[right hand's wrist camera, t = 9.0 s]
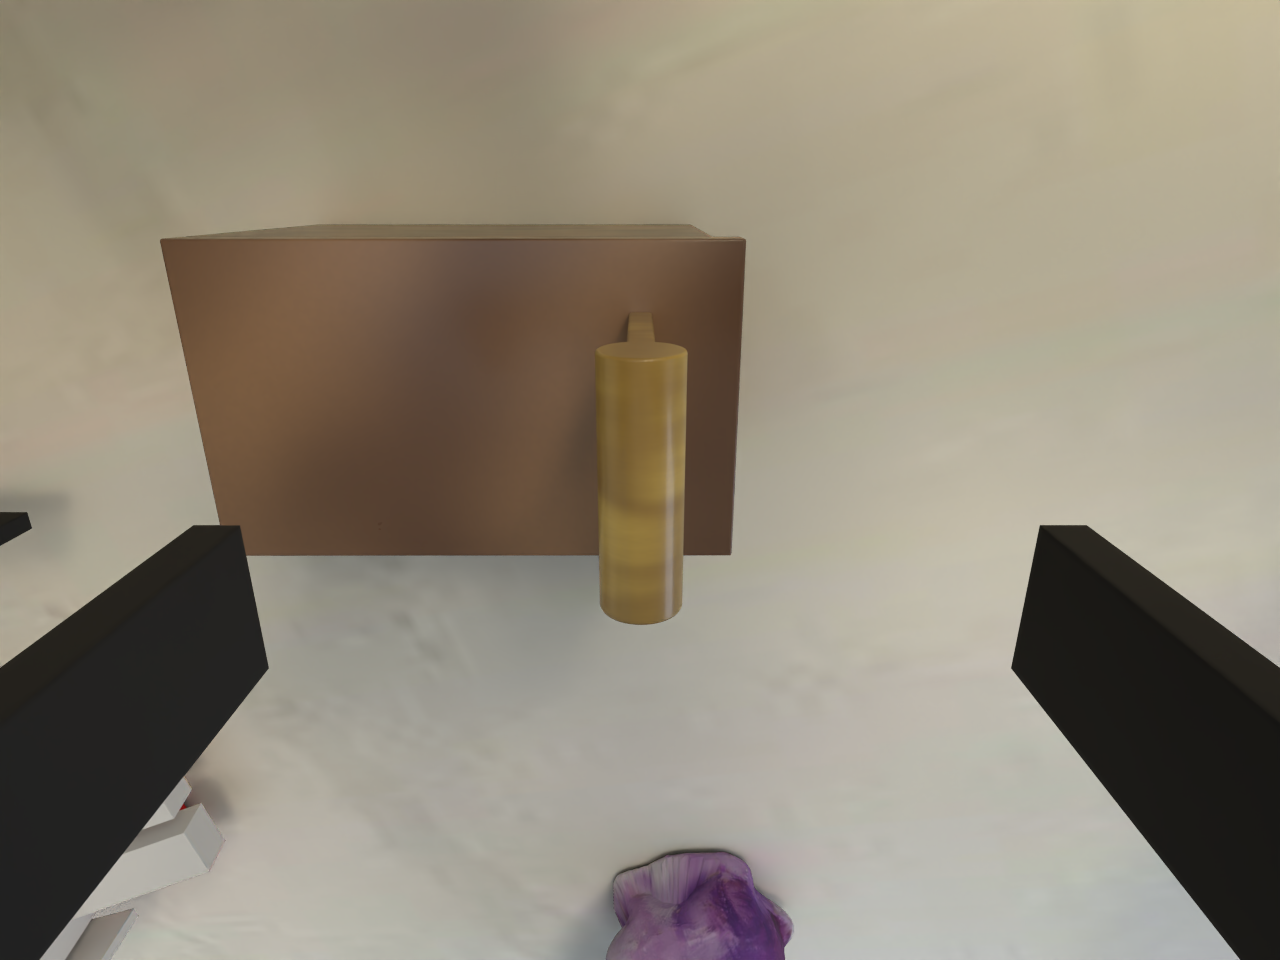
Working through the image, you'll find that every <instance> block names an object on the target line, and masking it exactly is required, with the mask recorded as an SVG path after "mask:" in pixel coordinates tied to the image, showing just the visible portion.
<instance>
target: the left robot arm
mask: <svg viewBox="0 0 1280 960" xmlns="http://www.w3.org/2000/svg"><path fill="white" fill-rule="evenodd" d="M30 529H32V527H31V524H30V520H29V517H28V514H27V512H0V546H1V545H2V544H4V543H6V542H8V541H10V540H12V539H13V538H15V537H17V536H19V535H21V534H22V533H24V532H26V531H28V530H30Z"/></svg>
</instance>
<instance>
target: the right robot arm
mask: <svg viewBox="0 0 1280 960" xmlns="http://www.w3.org/2000/svg"><path fill="white" fill-rule="evenodd" d="M268 669H269V667H268V662H267V657H266V652H265V647H264V642H263V637H262V632H261V627H260V622H259V617H258V612H257V607H256V602H255V597H254V592H253V587H252V582H251V577H250V572H249V567H248V562H247V557H246V552H245V547H244V543H243V538H242V533H241V528H240V525H193V526H192V527H190V528H189V529H188V530H186V531H185V532H184V533H182V534H181V535H180V536H178V537H177V538H176V539H174V540H173V541H172V542H170V543H169V544H167V545H166V546H165V547H163V548H162V549H161V550H159V551H158V552H157V553H155V554H154V555H153V556H151V557H150V558H148V559H147V560H146V561H144V562H143V563H142V564H140V565H139V566H138V567H136V568H135V569H134V570H132V571H131V572H130V573H128V574H127V575H125V576H124V577H123V578H121V579H120V580H119V581H117V582H116V583H115V584H113V585H112V586H111V587H109V588H108V589H106V590H105V591H104V592H102V593H101V594H100V595H98V596H97V597H96V598H94V599H93V600H92V601H90V602H89V603H87V604H86V605H85V606H83V607H82V608H81V609H79V610H78V611H77V612H75V613H74V614H73V615H71V616H70V617H69V618H67V619H66V620H64V621H63V622H62V623H60V624H59V625H58V626H56V627H55V628H54V629H52V630H51V631H50V632H48V633H47V634H45V635H44V636H43V637H41V638H40V639H39V640H37V641H36V642H35V643H33V644H32V645H31V646H29V647H28V648H27V649H25V650H24V651H22V652H21V653H20V654H18V655H17V656H16V657H14V658H13V659H12V660H10V661H9V662H8V663H6V664H5V665H3V666H2V667H1V668H0V960H40V959H41V957H42V956H43V955H44V954H45V952H46V951H47V950H48V948H49V947H50V946H51V945H52V943H53V942H54V941H55V940H56V938H57V937H58V936H59V934H60V933H61V932H62V931H63V929H64V928H65V927H66V926H67V924H68V923H69V922H70V921H71V919H72V918H73V917H74V915H75V914H76V913H77V912H78V910H79V909H80V908H81V907H82V905H83V904H84V903H85V901H86V900H87V899H88V898H89V896H90V895H91V894H92V893H93V891H94V890H95V889H96V887H97V886H98V885H99V884H100V882H101V881H102V880H103V879H104V877H105V876H106V875H107V873H108V872H109V871H110V870H111V868H112V867H113V866H114V865H115V863H116V862H117V861H118V859H119V858H120V857H121V856H122V854H123V853H124V852H125V851H126V849H127V848H128V847H129V845H130V844H131V843H132V842H133V840H134V839H135V838H136V837H137V835H138V834H139V833H140V831H141V830H142V829H143V828H144V826H145V825H146V824H147V823H148V821H149V820H150V819H151V817H152V816H153V815H154V814H155V812H156V811H157V810H158V809H159V807H160V806H161V805H162V803H163V802H164V801H165V800H166V798H167V797H168V796H169V795H170V793H171V792H172V791H173V789H174V788H175V787H176V786H177V784H178V783H179V782H180V781H181V779H182V778H183V777H184V775H185V774H186V773H187V772H188V770H189V769H190V768H191V767H192V765H193V764H194V763H195V761H196V760H197V759H198V758H199V756H200V755H201V754H202V753H203V751H204V750H205V749H206V747H207V746H208V745H209V744H210V742H211V741H212V740H213V739H214V737H215V736H216V735H217V733H218V732H219V731H220V730H221V728H222V727H223V726H224V725H225V723H226V722H227V721H228V719H229V718H230V717H231V716H232V714H233V713H234V712H235V711H236V709H237V708H238V707H239V705H240V704H241V703H242V702H243V700H244V699H245V698H246V697H247V695H248V694H249V693H250V691H251V690H252V689H253V688H254V686H255V685H256V684H257V683H258V681H259V680H260V679H261V677H262V676H263V675H264V674H265V672H266V671H267V670H268ZM1011 669H1012V670H1013V671H1014V672H1015V674H1016V675H1017V676H1018V677H1019V679H1020V680H1021V681H1022V683H1023V684H1024V685H1025V686H1026V688H1027V689H1028V690H1029V691H1030V693H1031V694H1032V695H1033V697H1034V698H1035V699H1036V700H1037V702H1038V703H1039V704H1040V705H1041V707H1042V708H1043V709H1044V711H1045V712H1046V713H1047V714H1048V716H1049V717H1050V718H1051V719H1052V721H1053V722H1054V723H1055V725H1056V726H1057V727H1058V728H1059V730H1060V731H1061V732H1062V733H1063V735H1064V736H1065V737H1066V739H1067V740H1068V741H1069V742H1070V744H1071V745H1072V746H1073V747H1074V749H1075V750H1076V751H1077V753H1078V754H1079V755H1080V756H1081V758H1082V759H1083V760H1084V761H1085V763H1086V764H1087V765H1088V767H1089V768H1090V769H1091V770H1092V772H1093V773H1094V774H1095V775H1096V777H1097V778H1098V779H1099V781H1100V782H1101V783H1102V784H1103V786H1104V787H1105V788H1106V789H1107V791H1108V792H1109V793H1110V795H1111V796H1112V797H1113V798H1114V800H1115V801H1116V802H1117V803H1118V805H1119V806H1120V807H1121V809H1122V810H1123V811H1124V812H1125V814H1126V815H1127V816H1128V817H1129V819H1130V820H1131V821H1132V823H1133V824H1134V825H1135V826H1136V828H1137V829H1138V830H1139V831H1140V833H1141V834H1142V835H1143V837H1144V838H1145V839H1146V840H1147V842H1148V843H1149V844H1150V845H1151V847H1152V848H1153V849H1154V851H1155V852H1156V853H1157V854H1158V856H1159V857H1160V858H1161V859H1162V861H1163V862H1164V863H1165V865H1166V866H1167V867H1168V868H1169V870H1170V871H1171V872H1172V873H1173V875H1174V876H1175V877H1176V879H1177V880H1178V881H1179V882H1180V884H1181V885H1182V886H1183V887H1184V889H1185V890H1186V891H1187V893H1188V894H1189V895H1190V896H1191V898H1192V899H1193V900H1194V901H1195V903H1196V904H1197V905H1198V907H1199V908H1200V909H1201V910H1202V912H1203V913H1204V914H1205V915H1206V917H1207V918H1208V919H1209V921H1210V922H1211V923H1212V924H1213V926H1214V927H1215V928H1216V929H1217V931H1218V932H1219V933H1220V935H1221V936H1222V937H1223V938H1224V940H1225V941H1226V942H1227V943H1228V945H1229V946H1230V947H1231V948H1232V950H1233V951H1234V952H1235V954H1236V955H1237V956H1238V957H1239V959H1240V960H1280V668H1279V667H1278V666H1277V665H1275V664H1274V663H1272V662H1271V661H1270V660H1268V659H1267V658H1266V657H1264V656H1263V655H1262V654H1260V653H1259V652H1258V651H1256V650H1255V649H1253V648H1252V647H1251V646H1249V645H1248V644H1247V643H1245V642H1244V641H1243V640H1241V639H1240V638H1239V637H1237V636H1236V635H1235V634H1233V633H1232V632H1230V631H1229V630H1228V629H1226V628H1225V627H1224V626H1222V625H1221V624H1220V623H1218V622H1217V621H1216V620H1214V619H1213V618H1211V617H1210V616H1209V615H1207V614H1206V613H1205V612H1203V611H1202V610H1201V609H1199V608H1198V607H1197V606H1195V605H1194V604H1193V603H1191V602H1190V601H1188V600H1187V599H1186V598H1184V597H1183V596H1182V595H1180V594H1179V593H1178V592H1176V591H1175V590H1174V589H1172V588H1171V587H1169V586H1168V585H1167V584H1165V583H1164V582H1163V581H1161V580H1160V579H1159V578H1157V577H1156V576H1155V575H1153V574H1152V573H1150V572H1149V571H1148V570H1146V569H1145V568H1144V567H1142V566H1141V565H1140V564H1138V563H1137V562H1136V561H1134V560H1133V559H1132V558H1130V557H1129V556H1127V555H1126V554H1125V553H1123V552H1122V551H1121V550H1119V549H1118V548H1117V547H1115V546H1114V545H1113V544H1111V543H1110V542H1108V541H1107V540H1106V539H1104V538H1103V537H1102V536H1100V535H1099V534H1098V533H1096V532H1095V531H1094V530H1092V529H1091V528H1090V527H1088V526H1087V525H1040V528H1039V533H1038V538H1037V543H1036V547H1035V552H1034V557H1033V562H1032V567H1031V572H1030V577H1029V582H1028V587H1027V592H1026V597H1025V602H1024V607H1023V612H1022V617H1021V622H1020V627H1019V632H1018V637H1017V642H1016V647H1015V652H1014V657H1013V662H1012V667H1011Z"/></svg>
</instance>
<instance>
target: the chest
mask: <svg viewBox="0 0 1280 960" xmlns="http://www.w3.org/2000/svg"><path fill="white" fill-rule="evenodd" d="M187 237H712V236H710V235H708V234H706V233H705V232H703V231H701V230H699V229H697V228H696V227H694V226H692V225H309V226H298V227H287V228H276V229H265V230H254V231H243V232H232V233H221V234H209V235H198V236H187Z"/></svg>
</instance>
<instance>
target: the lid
mask: <svg viewBox="0 0 1280 960" xmlns="http://www.w3.org/2000/svg"><path fill="white" fill-rule="evenodd" d="M160 243H161V247H162V252H163V257H164V262H165V266H166V271H167V276H168V281H169V285H170V290H171V295H172V300H173V304H174V309H175V314H176V318H177V323H178V328H179V333H180V337H181V342H182V347H183V352H184V356H185V361H186V366H187V371H188V375H189V380H190V385H191V389H192V394H193V399H194V404H195V408H196V413H197V418H198V423H199V427H200V432H201V437H202V442H203V446H204V451H205V456H206V460H207V465H208V470H209V475H210V479H211V484H212V489H213V494H214V498H215V503H216V508H217V513H218V517H219V522H220V525H240V528H241V533H242V538H243V543H244V547H245V552H246V556H300V555H599V579H600V606H601V608H602V610H603V612H604V613H605V614H606V615H607V616H609V617H610V618H612V619H614V620H617V621H619V622H623V623H628V624H635V625H647V624H655V623H659V622H663V621H666V620H668V619H670V618H672V617H673V616H675V615H676V614H677V613H678V612H679V610H680V609H681V606H682V587H683V555H731V553H732V532H733V510H734V489H735V467H736V446H737V424H738V403H739V381H740V360H741V338H742V317H743V295H744V274H745V252H746V240H745V239H743V238H741V237H176V238H165V239H161V240H160Z"/></svg>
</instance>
